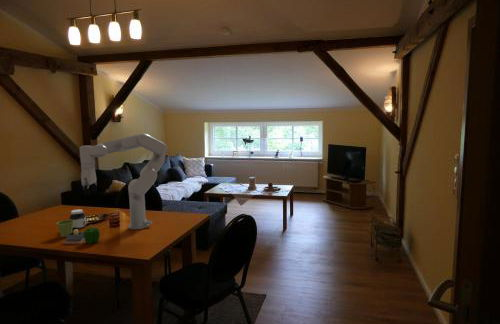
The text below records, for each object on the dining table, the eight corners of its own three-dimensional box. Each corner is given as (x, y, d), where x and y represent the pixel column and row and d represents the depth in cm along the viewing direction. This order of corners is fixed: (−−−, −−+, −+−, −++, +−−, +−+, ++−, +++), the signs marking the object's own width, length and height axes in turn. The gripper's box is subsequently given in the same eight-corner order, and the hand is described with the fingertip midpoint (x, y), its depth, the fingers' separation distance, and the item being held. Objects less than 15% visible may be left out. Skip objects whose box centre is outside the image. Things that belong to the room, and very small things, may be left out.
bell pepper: (98, 244, 186) (97, 227, 185) (82, 245, 184) (81, 228, 183) (101, 239, 194) (100, 222, 193) (86, 240, 192) (85, 224, 191)
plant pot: (62, 239, 195) (61, 225, 194) (54, 236, 200) (53, 222, 199) (78, 234, 203) (77, 221, 202) (69, 232, 208) (68, 218, 206)
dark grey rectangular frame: (72, 237, 195) (72, 231, 195) (86, 237, 195) (86, 231, 195) (66, 240, 189) (66, 235, 189) (80, 240, 189) (80, 235, 189)
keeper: (89, 237, 197) (88, 227, 196) (80, 243, 187) (79, 232, 186) (72, 237, 197) (71, 227, 196) (63, 243, 187) (62, 232, 186)
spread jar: (77, 230, 210) (76, 213, 209) (62, 229, 212) (61, 212, 211) (90, 225, 222) (89, 208, 220) (75, 224, 224) (74, 207, 223)
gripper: (88, 164, 208) (91, 190, 210) (74, 168, 190) (77, 196, 193) (100, 163, 208) (102, 190, 210) (87, 167, 191) (90, 196, 193)
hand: (90, 193), depth 201 cm, fingers open, 9 cm apart
